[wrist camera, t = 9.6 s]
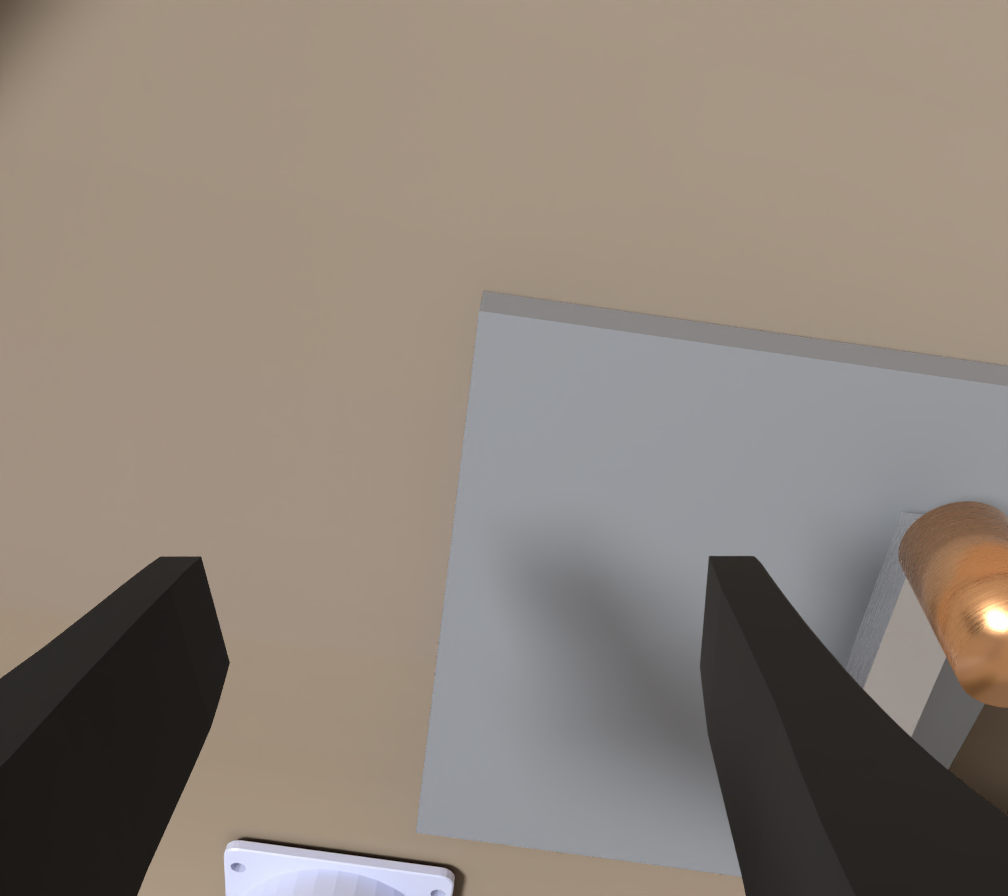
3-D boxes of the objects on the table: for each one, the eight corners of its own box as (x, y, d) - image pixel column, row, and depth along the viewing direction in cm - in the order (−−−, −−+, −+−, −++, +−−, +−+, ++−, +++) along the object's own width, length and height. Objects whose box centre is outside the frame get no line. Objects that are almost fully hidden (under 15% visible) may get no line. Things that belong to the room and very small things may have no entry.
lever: (840, 893, 28) (886, 1059, 24) (743, 883, 28) (772, 1047, 24) (1021, 477, 20) (1134, 619, 16) (886, 465, 20) (964, 602, 16)
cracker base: (1023, 882, 30) (1078, 999, 27) (421, 801, 30) (403, 909, 27) (1346, 414, 21) (1487, 506, 18) (483, 291, 21) (467, 361, 18)
